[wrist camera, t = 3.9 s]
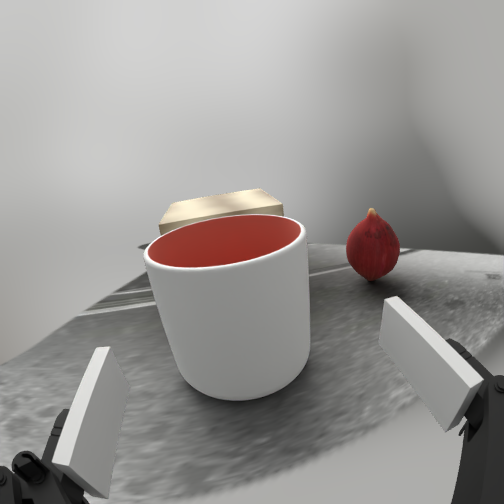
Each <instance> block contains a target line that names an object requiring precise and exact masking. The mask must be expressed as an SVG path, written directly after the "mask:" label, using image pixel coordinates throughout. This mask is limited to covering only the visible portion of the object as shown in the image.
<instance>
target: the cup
mask: <svg viewBox="0 0 504 504" xmlns="http://www.w3.org/2000/svg"><path fill="white" fill-rule="evenodd" d="M144 262H145V266H146V269H147V273H148V277H149V280H150V284H151V287H152V291H153V294H154V298H155V301H156V304H157V308H158V311H159V314H160V317H161V320H162V323H163V326H164V329H165V332H166V335H167V338H168V341H169V344H170V347H171V350H172V353H173V355H174V358H175V361H176V364H177V366H178V369H179V371H180V373H181V375H182V376H183V378H184V379H185V380H186V381H187V382H188V383H189V384H190V385H191V386H192V387H194V388H195V389H196V390H198V391H200V392H202V393H203V394H206V395H208V396H211V397H214V398H218V399H223V400H232V401H242V400H251V399H256V398H260V397H264V396H267V395H269V394H272V393H274V392H276V391H278V390H280V389H282V388H283V387H285V386H286V385H288V384H289V383H290V382H292V381H293V380H294V379H295V378H296V377H297V376H298V375H299V373H300V372H301V371H302V369H303V368H304V366H305V364H306V362H307V360H308V357H309V353H310V300H309V274H308V253H307V236H306V230H305V228H304V226H303V225H302V224H301V223H299V222H298V221H296V220H293V219H290V218H287V217H282V216H276V215H262V214H251V215H235V216H227V217H220V218H214V219H209V220H205V221H200V222H196V223H193V224H189V225H186V226H183V227H180V228H178V229H175V230H173V231H170V232H168V233H166V234H164V235H162V236H160V237H159V238H157V239H156V240H154V241H153V242H152V243H151V244H150V245H149V246H148V247H147V248H146V250H145V252H144Z"/></svg>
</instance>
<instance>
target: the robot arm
mask: <svg viewBox="0 0 504 504" xmlns="http://www.w3.org/2000/svg"><path fill="white" fill-rule="evenodd" d="M379 345H380V346H381V347H382V349H383V350H384V351H385V352H386V354H387V355H388V356H389V358H390V359H391V360H392V361H393V363H394V364H395V365H396V367H397V368H398V369H399V370H400V372H401V373H402V374H403V376H404V377H405V378H406V380H407V381H408V382H409V384H410V385H411V386H412V388H413V389H414V390H415V392H416V393H417V394H418V396H419V397H420V398H421V400H422V401H423V402H424V404H425V405H426V406H427V408H428V409H429V410H430V412H431V413H432V415H433V416H434V417H435V419H436V420H437V421H438V423H439V424H440V426H441V427H442V428H443V430H444V431H445V432H447V431H449V430H450V429H452V428H454V427H455V426H457V425H458V424H459V423H460V421H461V420H462V418H463V416H465V417H466V419H467V421H466V423H465V424H464V426H463V427H462V429H461V430H460V432H459V436H461V434H462V433H463V431H464V430H465V431H464V439H463V448H462V454H461V460H460V466H459V472H458V477H457V482H456V486H455V490H454V495H453V499H452V502H451V504H504V376H502V375H497V376H493V375H492V374H491V373H490V372H489V371H488V370H487V369H486V368H485V367H484V366H483V365H482V364H481V363H480V362H478V361H477V360H476V359H475V358H474V357H472V355H471V354H470V353H469V352H468V351H466V349H465V348H464V347H463V346H462V345H461V344H460V343H458V342H456V341H454V340H452V339H450V338H449V339H447V340H444V339H443V338H442V337H441V336H440V335H439V334H438V333H437V332H436V331H435V330H434V329H433V328H431V327H430V326H429V325H428V324H427V323H426V322H425V321H424V320H423V319H422V318H421V317H420V316H419V315H417V314H416V313H415V312H414V311H413V310H412V309H411V308H410V307H409V306H408V305H406V304H405V303H404V302H403V301H402V300H401V299H400V298H399V297H398V296H395V297H391V298H388V299H384V307H383V315H382V322H381V330H380V336H379ZM129 391H130V386H129V384H128V382H127V380H126V378H125V376H124V374H123V372H122V370H121V368H120V366H119V364H118V362H117V360H116V358H115V356H114V354H113V352H112V350H111V347H97V348H96V350H95V352H94V354H93V356H92V358H91V361H90V363H89V365H88V367H87V370H86V372H85V374H84V377H83V379H82V381H81V384H80V386H79V388H78V391H77V393H76V396H75V398H74V401H73V403H72V406H71V408H70V409H63V411H62V412H61V413H60V414H59V415H58V416H57V418H56V421H55V423H54V426H53V427H54V428H53V429H52V431H51V436H50V437H49V439H48V442H47V445H46V448H45V451H44V453H43V456H42V459H41V460H40V459H39V458H38V457H37V456H36V455H35V454H33V453H32V452H30V451H22V452H20V453H18V454H17V455H16V456H15V457H14V459H13V462H12V471H13V472H15V473H13V472H11V471H10V470H9V469H8V468H6V467H5V466H0V504H89V503H88V501H87V500H86V498H85V497H84V496H83V495H84V491H86V492H87V493H88V494H90V495H91V496H93V497H99V498H105V499H108V498H109V491H110V484H111V478H112V472H113V466H114V461H115V455H116V450H117V445H118V440H119V435H120V430H121V425H122V421H123V416H124V412H125V407H126V403H127V399H128V395H129Z"/></svg>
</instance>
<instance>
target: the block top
mask: <svg viewBox="0 0 504 504" xmlns="http://www.w3.org/2000/svg"><path fill="white" fill-rule="evenodd" d="M251 214H262V215H276V216H282V217H284V213H283V204H282V203H280V202H279V201H278V200H276V199H274V198H273V197H272V196H270V195H269V194H267V193H266V192H264V191H263V190H261V189H254V190H246V191H239V192H233V193H226V194H220V195H214V196H208V197H202V198H196V199H191V200H185V201H180V202H174V203H172V204H171V206H170V207H169V209H168V210H167V212H166V214H165V215H164V217H163V218H162V220H161V222H160V223H159V229H160V233H161V236H162V235H164V234H166V233H168V232H170V231H173V230H175V229H178V228H180V227H183V226H186V225H189V224H193V223H196V222H200V221H205V220H209V219H214V218H220V217H227V216H235V215H251Z"/></svg>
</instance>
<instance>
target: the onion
mask: <svg viewBox="0 0 504 504" xmlns="http://www.w3.org/2000/svg"><path fill="white" fill-rule="evenodd" d="M346 253H347V258H348V261H349V263H350V264H351V266H352V267H353V268H354V269H355V271H356V272H357V273H358V274H360V275H361V276H362V277H364V278H365V279H367V280H368V281H374V280H376V279H378V278H380V277H382V276H384V275H386V274H387V273H389V272H390V271H391V270H393V268H394V266H395V265H396V263H397V260H398V257H399V253H400V245H399V241H398V238H397V236H396V235H395V233H394V231H393V229H392V228H391V226H390V225H389V224H388V223H387V222H386V221H384V220H383V219H382V218H380V216H379V215H378V214H377V213H376V211H375V210H374V209H373V208H370V209H369V212H368V214H367V218H365V219H364V220H363V221H361V222H360V223H359V224H358V225H357V226H356V227H355V228H354V229H353V230H352V232H351V233H350V235H349V237H348V240H347V246H346Z"/></svg>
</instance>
